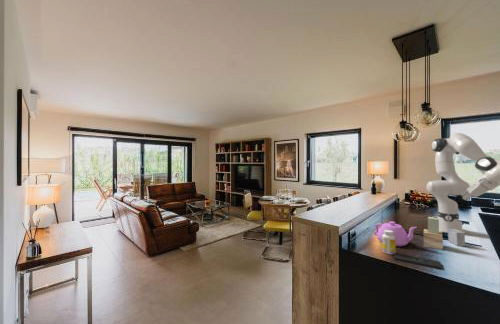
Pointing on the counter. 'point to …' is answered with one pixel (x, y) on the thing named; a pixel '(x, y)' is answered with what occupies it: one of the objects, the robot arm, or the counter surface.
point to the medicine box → (456, 237)
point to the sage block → (433, 225)
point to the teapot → (395, 233)
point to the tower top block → (433, 236)
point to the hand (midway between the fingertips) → (462, 197)
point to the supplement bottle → (388, 242)
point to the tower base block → (433, 244)
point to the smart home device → (418, 261)
